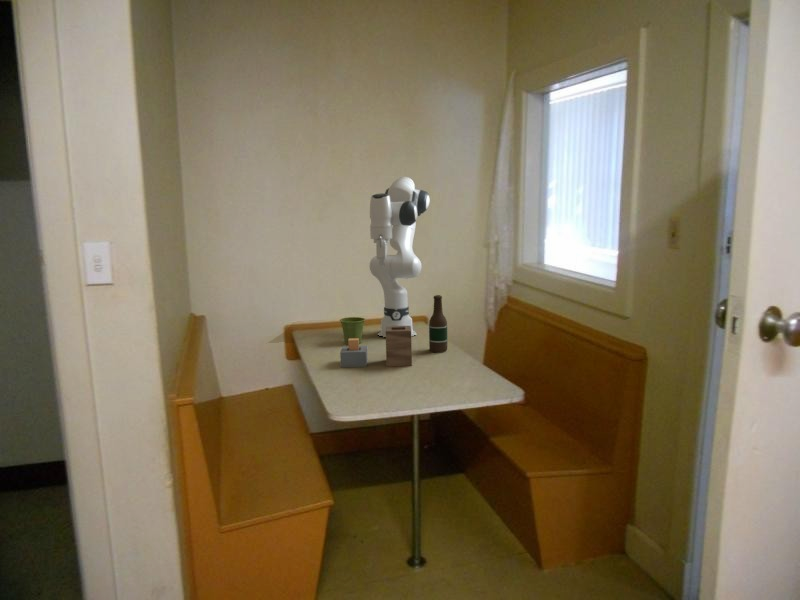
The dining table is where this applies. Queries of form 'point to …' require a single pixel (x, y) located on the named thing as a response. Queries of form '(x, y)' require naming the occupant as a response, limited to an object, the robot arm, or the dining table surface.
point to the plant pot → (352, 328)
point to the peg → (353, 344)
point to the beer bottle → (438, 327)
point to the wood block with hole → (398, 346)
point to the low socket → (353, 357)
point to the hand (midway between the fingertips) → (382, 268)
